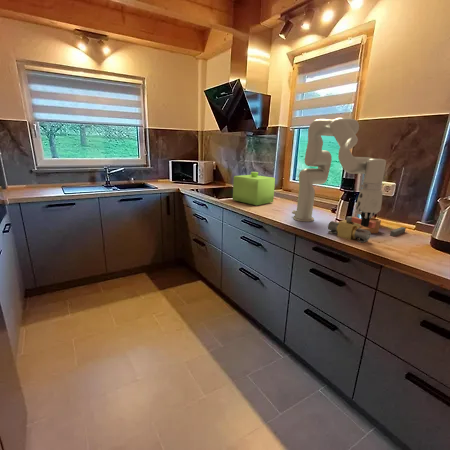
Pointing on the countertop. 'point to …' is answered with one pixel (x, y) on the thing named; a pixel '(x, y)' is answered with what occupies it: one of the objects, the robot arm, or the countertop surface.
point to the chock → (397, 231)
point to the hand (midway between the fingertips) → (364, 225)
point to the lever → (358, 220)
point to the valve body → (349, 231)
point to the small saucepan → (372, 230)
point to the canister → (253, 189)
